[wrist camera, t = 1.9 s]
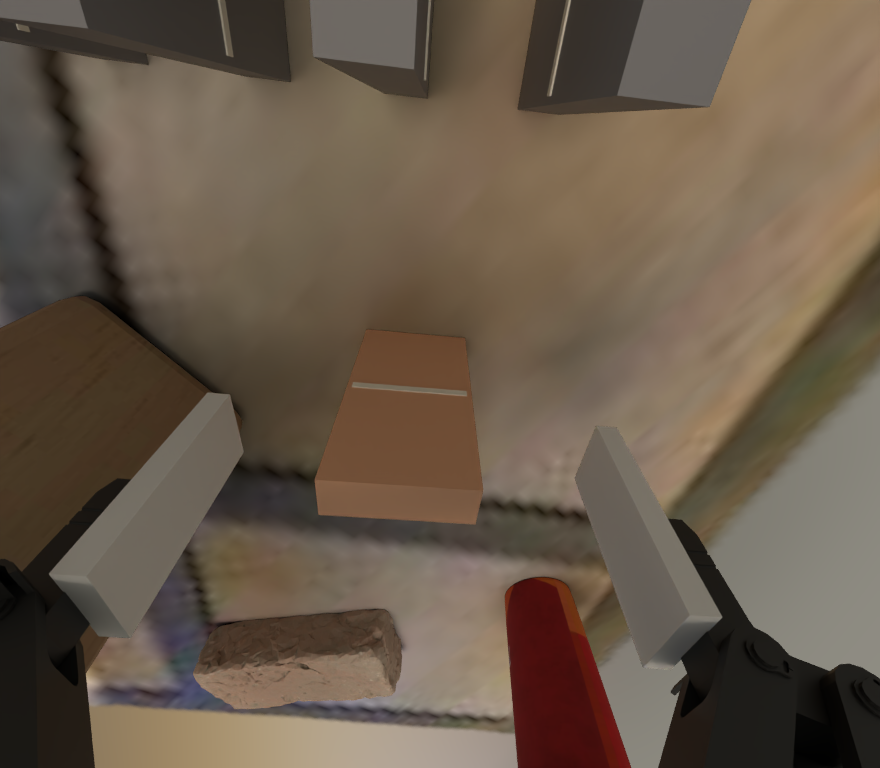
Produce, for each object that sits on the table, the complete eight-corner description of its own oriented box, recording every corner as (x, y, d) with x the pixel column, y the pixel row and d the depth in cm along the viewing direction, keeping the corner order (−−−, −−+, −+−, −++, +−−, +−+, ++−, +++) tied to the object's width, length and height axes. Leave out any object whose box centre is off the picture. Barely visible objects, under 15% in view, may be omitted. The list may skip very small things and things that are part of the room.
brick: (385, 603, 35) (378, 664, 31) (405, 646, 40) (401, 704, 36) (212, 617, 37) (184, 676, 33) (250, 657, 41) (230, 713, 37)
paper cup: (477, 608, 35) (497, 851, 23) (518, 561, 31) (567, 825, 19) (554, 624, 37) (607, 858, 25) (602, 581, 33) (693, 836, 21)
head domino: (460, 365, 21) (474, 525, 13) (366, 357, 21) (318, 516, 12) (465, 337, 20) (483, 489, 12) (366, 328, 20) (314, 478, 12)
